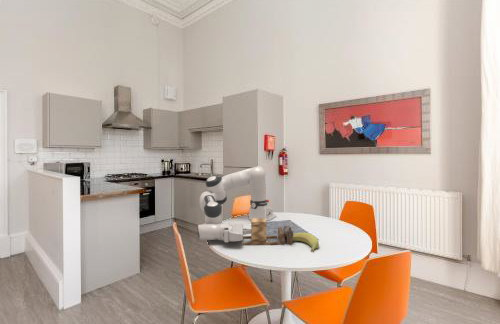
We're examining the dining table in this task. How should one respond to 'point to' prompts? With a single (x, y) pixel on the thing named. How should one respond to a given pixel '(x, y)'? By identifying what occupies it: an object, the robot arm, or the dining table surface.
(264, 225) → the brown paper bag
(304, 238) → the banana
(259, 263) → the dining table surface
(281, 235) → the wooden rack
